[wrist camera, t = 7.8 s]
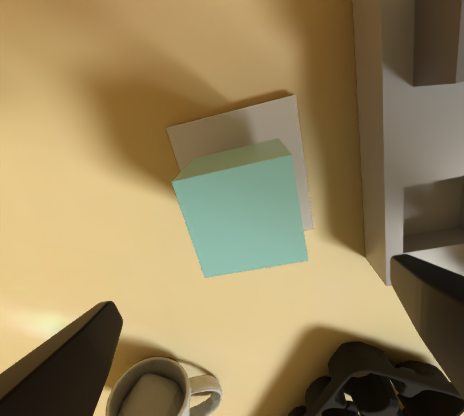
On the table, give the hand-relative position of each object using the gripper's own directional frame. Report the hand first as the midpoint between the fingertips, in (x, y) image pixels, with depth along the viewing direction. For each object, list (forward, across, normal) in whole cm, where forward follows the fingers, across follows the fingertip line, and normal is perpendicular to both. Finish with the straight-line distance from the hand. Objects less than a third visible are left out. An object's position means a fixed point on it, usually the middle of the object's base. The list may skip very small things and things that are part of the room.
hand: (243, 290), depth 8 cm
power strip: (+12, -12, -1) cm, 17 cm away
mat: (+12, 0, 0) cm, 12 cm away
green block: (+12, 0, 0) cm, 12 cm away
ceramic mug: (+13, +13, +22) cm, 28 cm away
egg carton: (+13, -4, +33) cm, 35 cm away
